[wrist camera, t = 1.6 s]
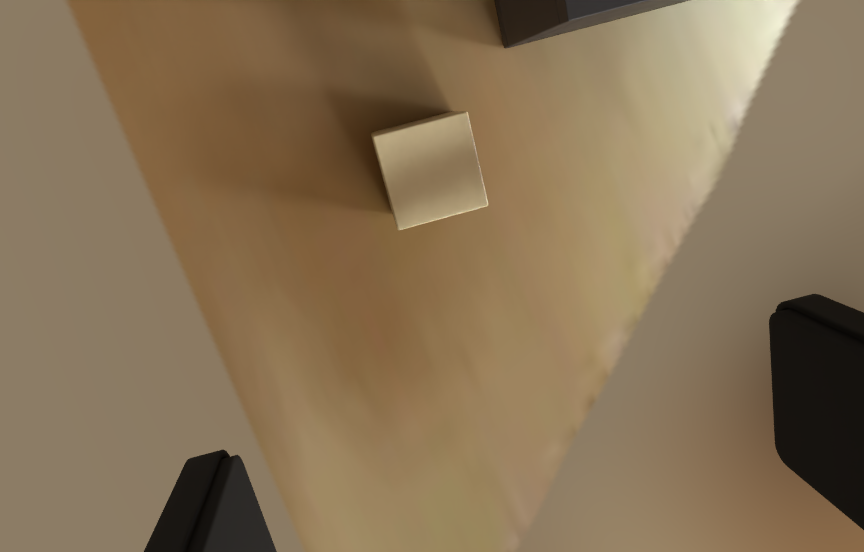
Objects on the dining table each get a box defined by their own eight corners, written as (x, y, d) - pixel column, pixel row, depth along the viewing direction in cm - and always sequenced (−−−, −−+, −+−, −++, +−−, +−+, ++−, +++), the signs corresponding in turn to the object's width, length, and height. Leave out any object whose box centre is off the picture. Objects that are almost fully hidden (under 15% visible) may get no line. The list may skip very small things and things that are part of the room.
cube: (370, 132, 31) (372, 136, 27) (452, 110, 31) (467, 110, 27) (392, 214, 32) (398, 230, 28) (471, 193, 32) (489, 205, 28)
